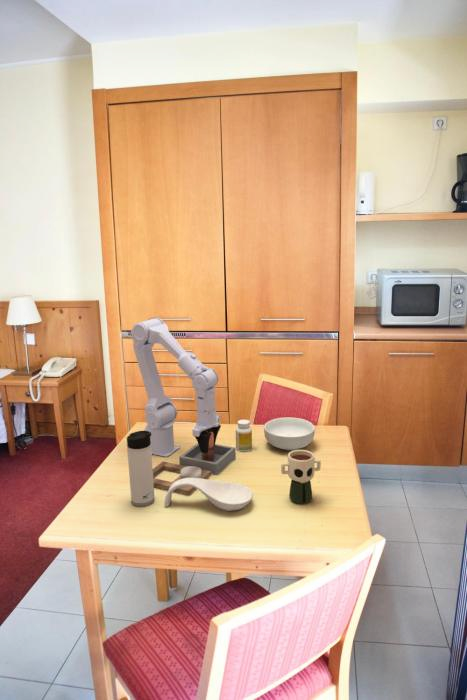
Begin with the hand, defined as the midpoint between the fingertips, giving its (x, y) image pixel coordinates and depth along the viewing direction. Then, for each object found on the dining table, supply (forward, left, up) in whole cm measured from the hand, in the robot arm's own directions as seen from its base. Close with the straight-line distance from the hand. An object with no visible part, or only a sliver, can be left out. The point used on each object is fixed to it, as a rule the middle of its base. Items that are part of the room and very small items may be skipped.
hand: (207, 449), depth 168 cm
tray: (0, 0, -4) cm, 4 cm away
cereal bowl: (+19, +22, -5) cm, 29 cm away
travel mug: (-5, -28, -5) cm, 29 cm away
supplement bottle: (+6, +14, -5) cm, 16 cm away
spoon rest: (+12, -22, -5) cm, 26 cm away
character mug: (+34, -10, -5) cm, 36 cm away
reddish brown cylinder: (0, 0, -3) cm, 3 cm away
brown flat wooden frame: (-3, -14, -4) cm, 15 cm away
